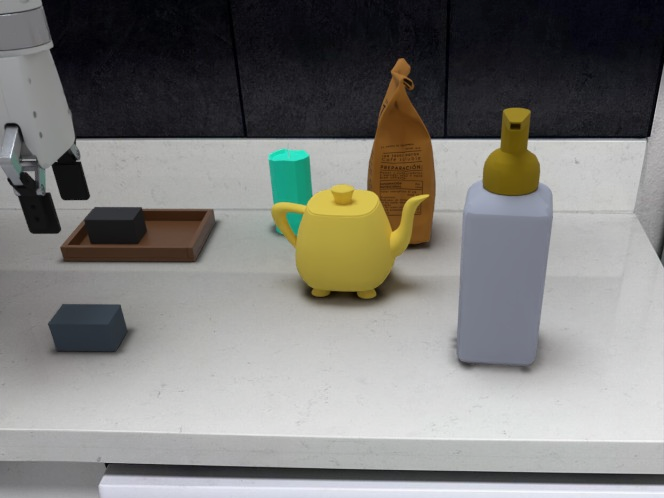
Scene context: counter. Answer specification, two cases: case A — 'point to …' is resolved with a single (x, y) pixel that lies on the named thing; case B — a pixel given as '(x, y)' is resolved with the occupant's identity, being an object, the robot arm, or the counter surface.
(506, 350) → the soap bottle
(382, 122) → the coffee package
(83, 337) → the blue gray block
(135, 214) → the black rectangular block
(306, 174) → the candle
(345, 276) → the teapot
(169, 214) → the brown shallow rectangular tray
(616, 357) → the counter surface
